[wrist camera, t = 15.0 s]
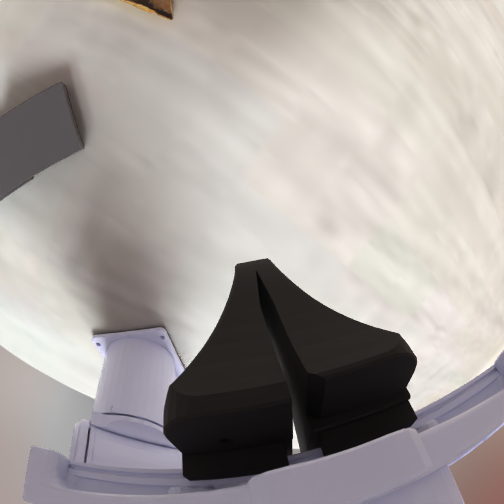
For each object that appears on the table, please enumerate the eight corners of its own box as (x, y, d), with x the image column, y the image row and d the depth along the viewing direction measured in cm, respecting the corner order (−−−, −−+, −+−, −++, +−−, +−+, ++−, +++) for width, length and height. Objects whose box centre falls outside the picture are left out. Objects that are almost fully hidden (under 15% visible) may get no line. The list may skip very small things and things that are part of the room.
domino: (61, 81, 12) (-23, 134, 10) (81, 149, 15) (-2, 198, 13) (65, 85, 13) (-14, 133, 11) (84, 148, 16) (6, 193, 14)
